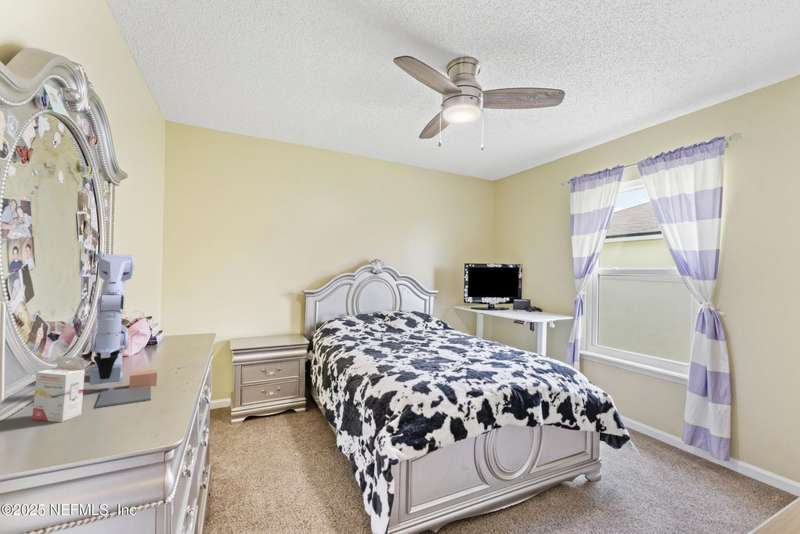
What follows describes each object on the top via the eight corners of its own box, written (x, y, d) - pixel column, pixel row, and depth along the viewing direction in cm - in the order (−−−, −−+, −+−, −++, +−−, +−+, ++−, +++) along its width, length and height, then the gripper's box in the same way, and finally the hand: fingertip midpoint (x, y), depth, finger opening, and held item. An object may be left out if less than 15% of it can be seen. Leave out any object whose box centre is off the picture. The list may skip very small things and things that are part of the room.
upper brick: (129, 386, 111) (130, 372, 111) (155, 382, 115) (156, 369, 115) (129, 390, 107) (130, 375, 107) (156, 386, 111) (157, 372, 112)
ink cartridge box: (30, 420, 83) (35, 359, 83) (52, 412, 88) (57, 355, 88) (61, 423, 82) (66, 361, 83) (82, 415, 87) (87, 357, 88)
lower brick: (91, 381, 105) (92, 366, 105) (120, 378, 109) (121, 364, 110) (89, 385, 102) (90, 369, 102) (119, 381, 106) (120, 367, 106)
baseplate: (101, 393, 103) (101, 391, 103) (150, 387, 110) (150, 385, 110) (95, 408, 91) (95, 405, 91) (150, 400, 99) (150, 398, 99)
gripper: (124, 335, 103) (120, 380, 102) (126, 329, 114) (123, 369, 114) (93, 337, 99) (89, 384, 98) (98, 330, 110) (95, 372, 110)
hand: (105, 376), depth 106 cm, fingers closed on lower brick, 4 cm apart
